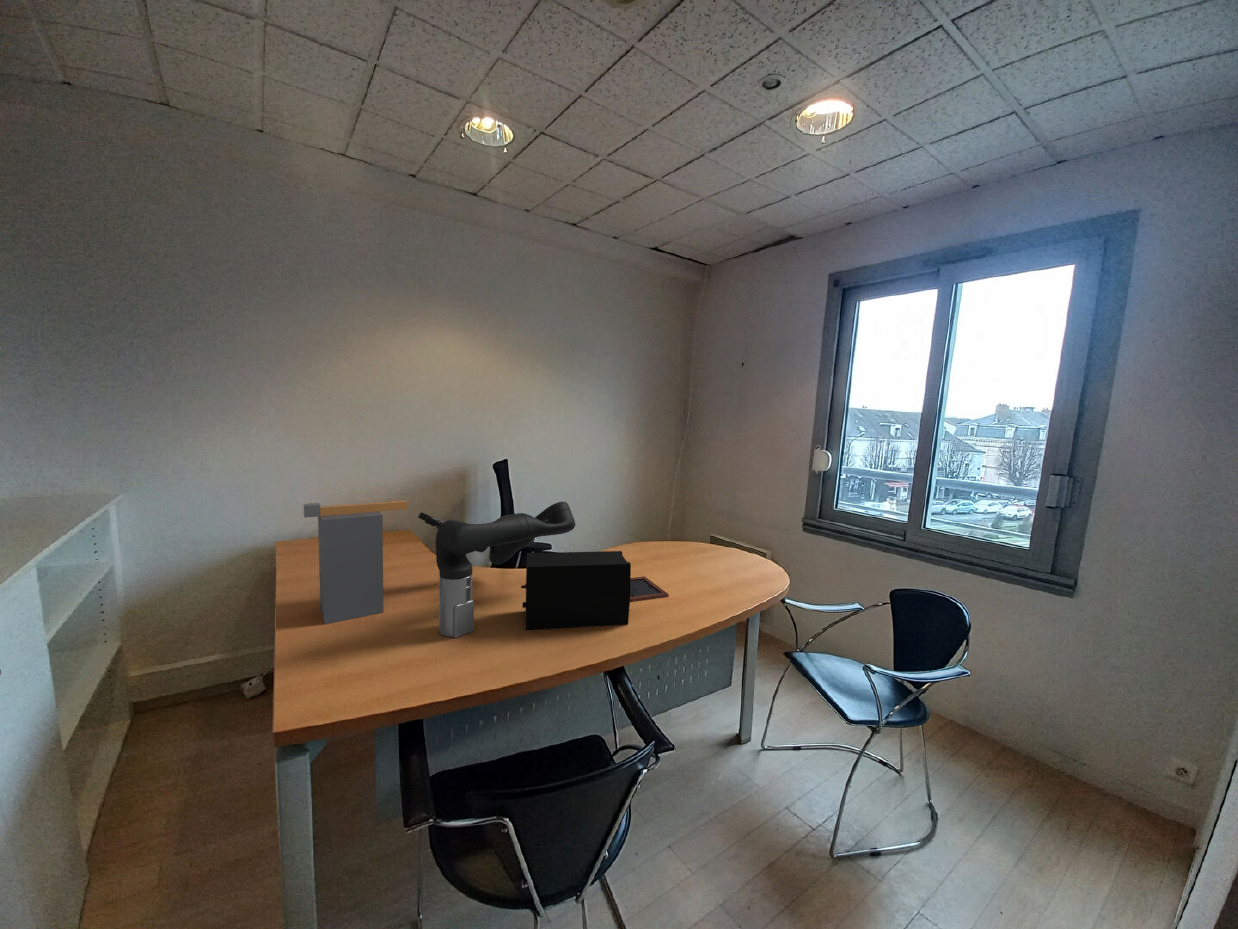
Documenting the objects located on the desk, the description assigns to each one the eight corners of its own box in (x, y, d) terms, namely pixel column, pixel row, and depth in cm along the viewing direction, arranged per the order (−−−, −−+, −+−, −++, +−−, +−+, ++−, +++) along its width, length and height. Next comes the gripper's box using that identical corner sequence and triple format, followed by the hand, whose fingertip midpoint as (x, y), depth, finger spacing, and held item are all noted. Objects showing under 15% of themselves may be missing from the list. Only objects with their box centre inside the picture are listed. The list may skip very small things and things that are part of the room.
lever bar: (405, 507, 155) (405, 497, 155) (408, 509, 152) (408, 499, 152) (303, 515, 138) (303, 503, 137) (304, 517, 135) (304, 506, 134)
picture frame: (606, 607, 158) (668, 598, 168) (606, 601, 157) (668, 593, 167) (587, 587, 176) (644, 580, 186) (587, 582, 176) (644, 575, 186)
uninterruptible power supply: (628, 626, 142) (631, 565, 140) (520, 632, 135) (521, 568, 133) (618, 605, 158) (620, 550, 156) (520, 610, 151) (521, 552, 149)
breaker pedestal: (375, 595, 158) (374, 506, 155) (384, 612, 145) (383, 514, 142) (320, 606, 148) (317, 510, 145) (324, 624, 135) (322, 520, 132)
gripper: (464, 548, 160) (422, 531, 151) (451, 539, 172) (411, 522, 162) (474, 529, 162) (434, 511, 153) (461, 521, 173) (422, 504, 164)
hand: (422, 517), depth 158 cm, fingers open, 8 cm apart
